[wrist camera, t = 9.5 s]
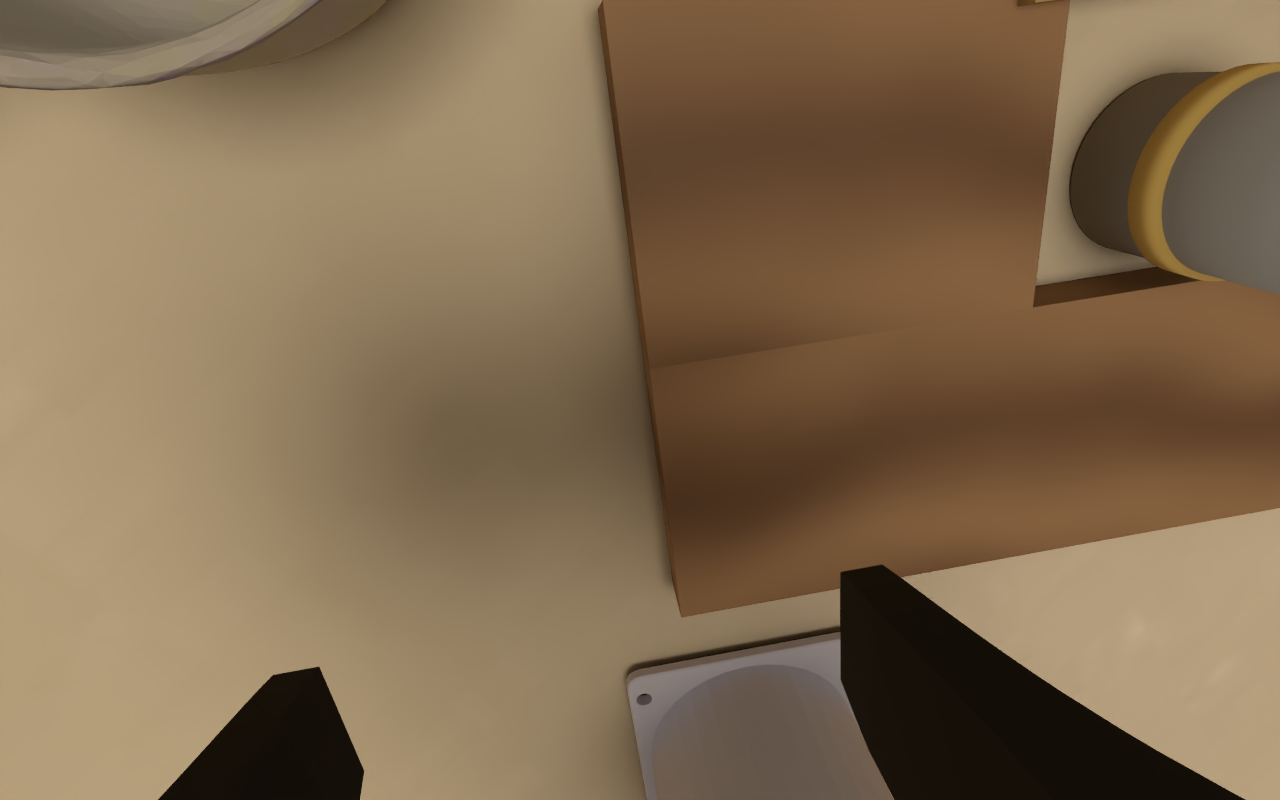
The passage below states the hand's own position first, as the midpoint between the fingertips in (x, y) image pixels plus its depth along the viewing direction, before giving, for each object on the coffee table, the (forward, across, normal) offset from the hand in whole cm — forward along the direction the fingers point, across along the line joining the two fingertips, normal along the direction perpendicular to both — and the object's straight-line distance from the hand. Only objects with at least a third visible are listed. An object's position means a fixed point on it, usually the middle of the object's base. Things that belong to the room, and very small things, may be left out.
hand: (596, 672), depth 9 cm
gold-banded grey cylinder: (+10, -16, -4) cm, 19 cm away
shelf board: (+10, -13, -1) cm, 16 cm away
